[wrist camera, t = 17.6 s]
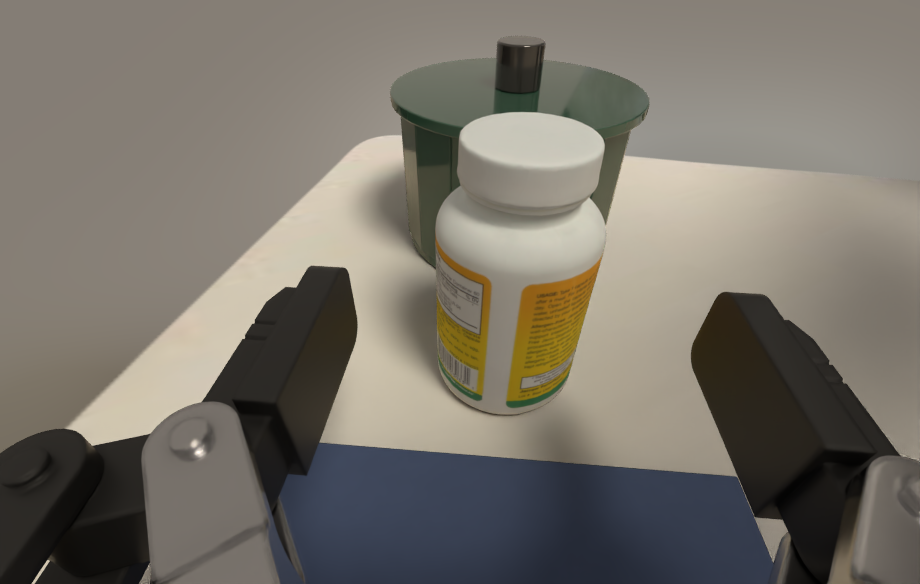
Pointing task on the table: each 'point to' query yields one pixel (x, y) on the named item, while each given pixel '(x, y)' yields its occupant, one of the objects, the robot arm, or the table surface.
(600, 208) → the pot
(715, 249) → the table surface
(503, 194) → the supplement bottle
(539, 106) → the pot lid
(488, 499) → the flat panel
